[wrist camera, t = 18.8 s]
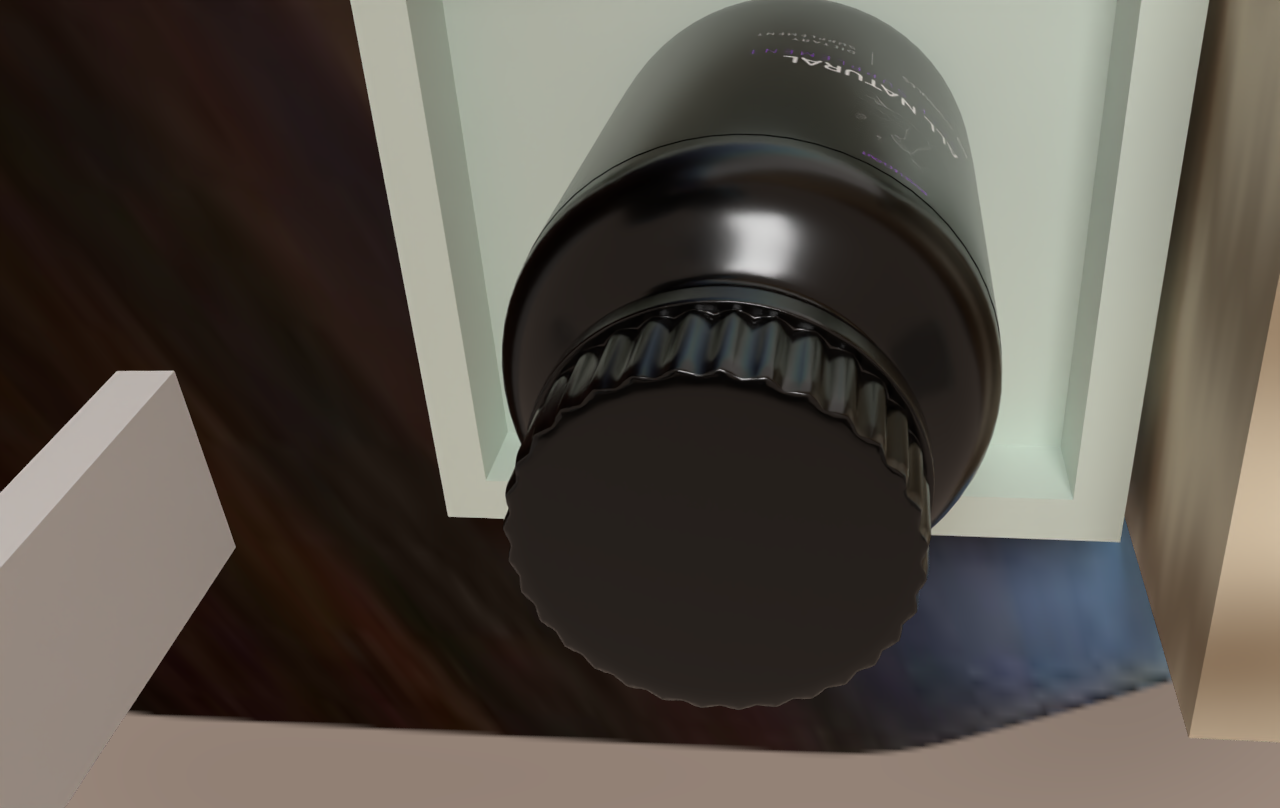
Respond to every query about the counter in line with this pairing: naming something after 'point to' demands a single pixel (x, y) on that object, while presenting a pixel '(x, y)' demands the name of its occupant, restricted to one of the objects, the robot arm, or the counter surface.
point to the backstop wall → (1219, 395)
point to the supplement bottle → (752, 360)
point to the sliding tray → (1005, 175)
